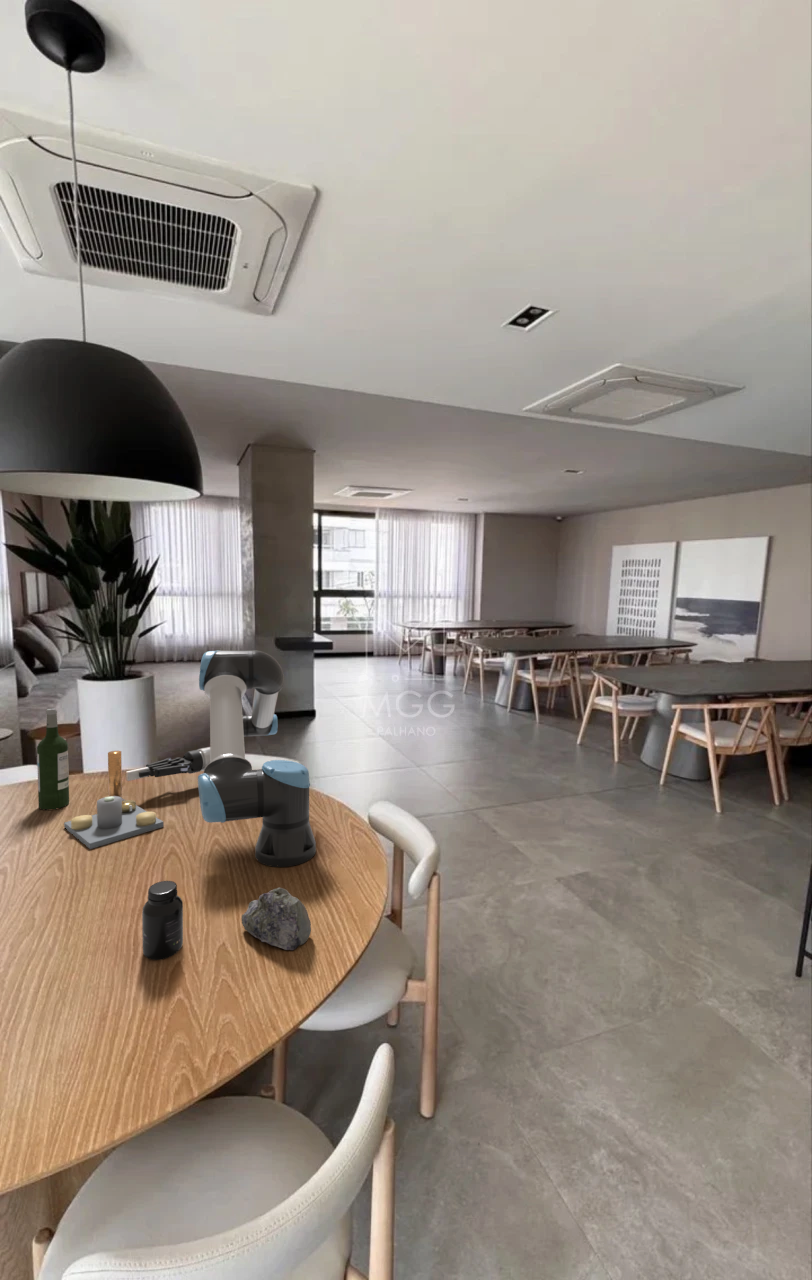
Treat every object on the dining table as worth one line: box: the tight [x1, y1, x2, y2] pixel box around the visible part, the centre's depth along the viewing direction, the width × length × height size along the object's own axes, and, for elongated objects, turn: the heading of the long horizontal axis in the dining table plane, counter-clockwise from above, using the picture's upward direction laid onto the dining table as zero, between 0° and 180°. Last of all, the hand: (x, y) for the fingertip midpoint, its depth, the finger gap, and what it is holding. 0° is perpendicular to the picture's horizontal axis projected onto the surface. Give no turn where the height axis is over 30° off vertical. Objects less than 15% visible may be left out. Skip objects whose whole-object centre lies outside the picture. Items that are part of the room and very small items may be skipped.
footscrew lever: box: [107, 750, 137, 812], centre depth 162 cm, size 13×5×16 cm, turn 49°
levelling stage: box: [63, 796, 165, 850], centre depth 152 cm, size 19×19×9 cm
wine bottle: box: [36, 708, 70, 810], centre depth 166 cm, size 8×8×30 cm
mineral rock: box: [241, 887, 312, 951], centre depth 105 cm, size 13×11×10 cm
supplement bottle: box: [141, 880, 184, 961], centre depth 100 cm, size 7×7×12 cm
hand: (126, 776), depth 168 cm, fingers closed
